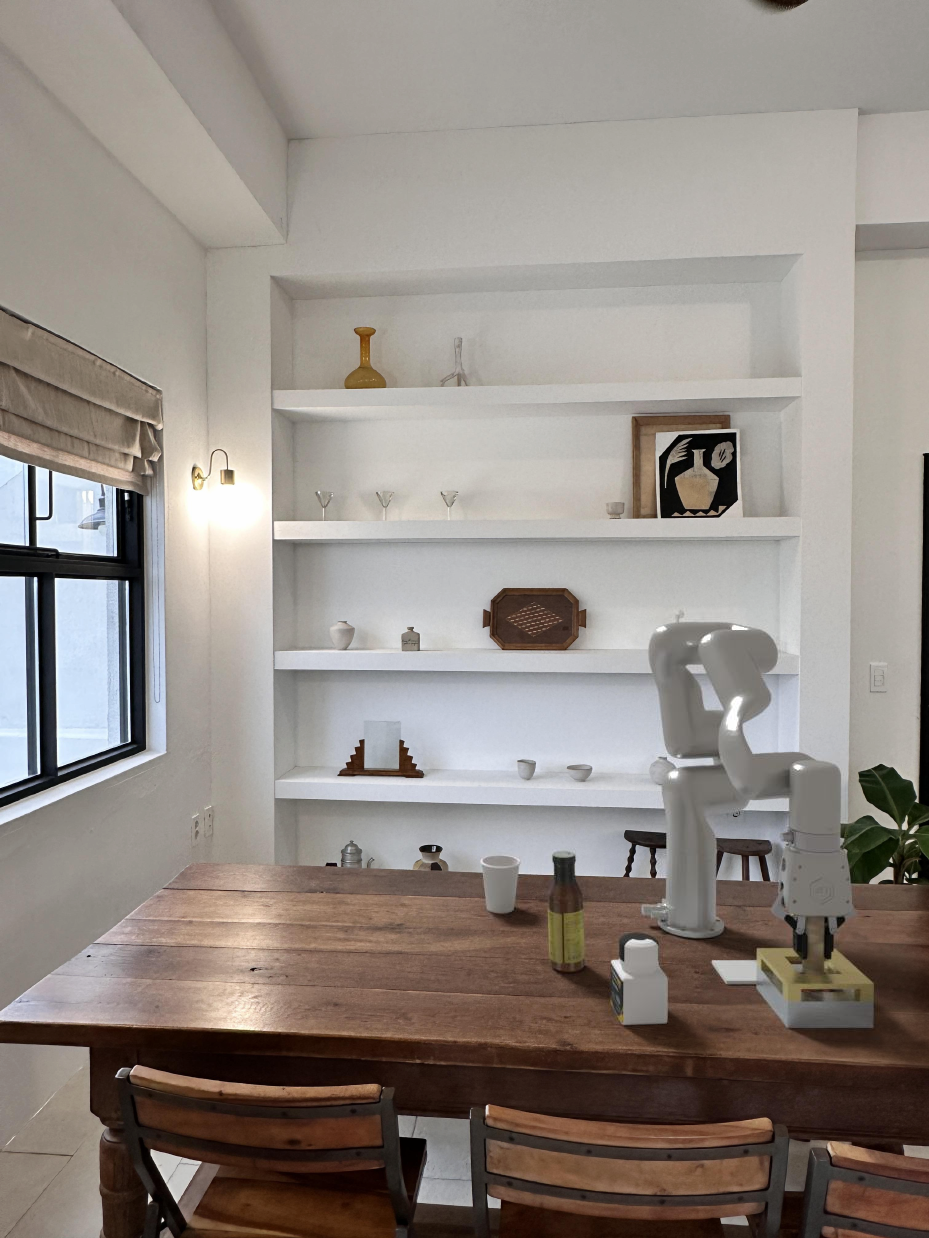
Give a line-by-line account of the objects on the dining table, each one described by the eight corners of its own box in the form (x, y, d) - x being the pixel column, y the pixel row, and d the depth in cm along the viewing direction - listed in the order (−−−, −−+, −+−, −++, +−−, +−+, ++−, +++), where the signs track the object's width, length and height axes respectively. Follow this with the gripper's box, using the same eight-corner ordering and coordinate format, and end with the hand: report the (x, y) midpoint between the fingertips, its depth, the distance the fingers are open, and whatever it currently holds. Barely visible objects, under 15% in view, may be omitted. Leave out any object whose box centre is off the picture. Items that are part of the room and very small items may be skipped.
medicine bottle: (609, 1003, 134) (610, 928, 134) (653, 1001, 135) (654, 927, 135) (621, 1026, 127) (622, 947, 127) (668, 1024, 128) (668, 945, 127)
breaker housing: (787, 1027, 127) (787, 983, 127) (756, 988, 140) (756, 948, 140) (873, 1027, 127) (873, 983, 127) (834, 988, 140) (834, 948, 140)
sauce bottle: (587, 961, 150) (588, 850, 149) (580, 976, 144) (581, 860, 143) (551, 956, 152) (552, 846, 151) (543, 970, 146) (544, 856, 146)
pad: (726, 984, 141) (726, 980, 141) (711, 963, 149) (711, 960, 149) (773, 983, 141) (773, 980, 141) (756, 963, 149) (756, 960, 149)
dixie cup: (527, 906, 177) (527, 858, 177) (507, 918, 170) (508, 869, 170) (493, 898, 181) (493, 852, 181) (472, 910, 174) (472, 862, 174)
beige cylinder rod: (806, 992, 131) (807, 896, 131) (798, 983, 135) (799, 889, 134) (827, 992, 132) (828, 896, 131) (818, 983, 135) (819, 889, 134)
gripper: (771, 847, 129) (770, 966, 129) (878, 847, 129) (876, 966, 129) (753, 833, 136) (752, 946, 137) (854, 833, 137) (853, 946, 137)
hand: (812, 954), depth 133 cm, fingers closed on beige cylinder rod, 3 cm apart
